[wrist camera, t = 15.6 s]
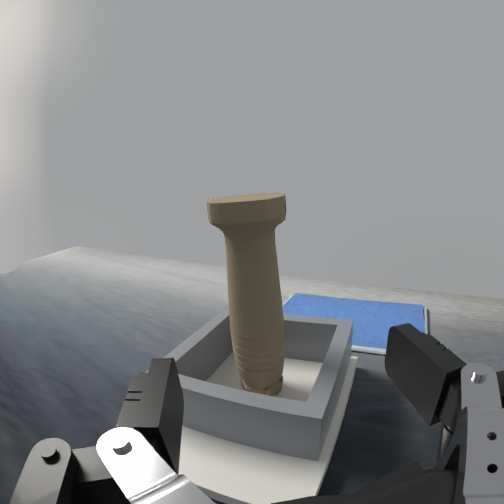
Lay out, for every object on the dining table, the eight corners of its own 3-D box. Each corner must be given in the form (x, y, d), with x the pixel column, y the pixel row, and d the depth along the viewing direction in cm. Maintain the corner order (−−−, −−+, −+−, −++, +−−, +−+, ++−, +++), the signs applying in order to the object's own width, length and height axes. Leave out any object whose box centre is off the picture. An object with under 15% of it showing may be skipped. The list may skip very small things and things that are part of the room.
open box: (305, 525, 12) (310, 481, 11) (120, 455, 18) (95, 404, 16) (356, 367, 27) (360, 318, 26) (226, 349, 33) (221, 305, 31)
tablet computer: (426, 311, 37) (427, 302, 36) (426, 364, 26) (429, 353, 26) (293, 299, 46) (293, 291, 46) (253, 340, 35) (252, 330, 35)
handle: (295, 368, 26) (288, 192, 23) (288, 417, 20) (278, 199, 17) (241, 366, 27) (224, 196, 24) (223, 413, 21) (193, 205, 18)
